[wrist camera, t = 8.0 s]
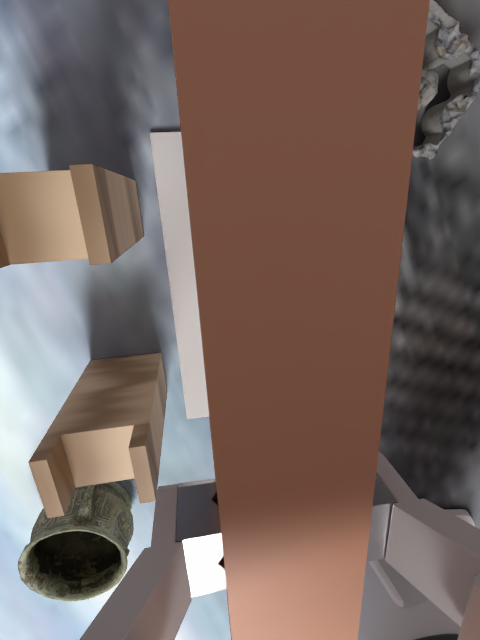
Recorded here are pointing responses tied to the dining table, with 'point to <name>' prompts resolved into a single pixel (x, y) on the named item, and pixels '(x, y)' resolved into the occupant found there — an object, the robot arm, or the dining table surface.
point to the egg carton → (463, 79)
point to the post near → (67, 215)
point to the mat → (180, 267)
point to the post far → (105, 432)
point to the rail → (296, 282)
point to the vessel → (80, 545)
